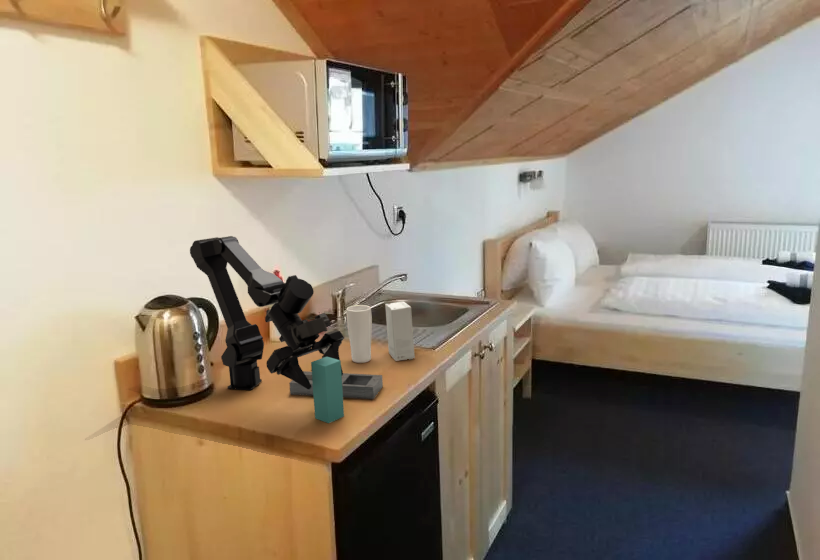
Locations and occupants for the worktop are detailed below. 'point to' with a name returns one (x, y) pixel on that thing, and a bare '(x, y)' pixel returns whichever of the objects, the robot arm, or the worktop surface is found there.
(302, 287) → the robot arm
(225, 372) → the worktop surface
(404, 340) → the skincare box
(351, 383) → the grey peg board
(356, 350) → the drinking glass
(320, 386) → the teal peg
